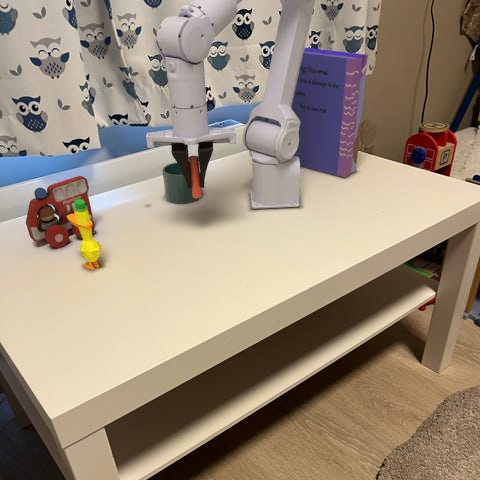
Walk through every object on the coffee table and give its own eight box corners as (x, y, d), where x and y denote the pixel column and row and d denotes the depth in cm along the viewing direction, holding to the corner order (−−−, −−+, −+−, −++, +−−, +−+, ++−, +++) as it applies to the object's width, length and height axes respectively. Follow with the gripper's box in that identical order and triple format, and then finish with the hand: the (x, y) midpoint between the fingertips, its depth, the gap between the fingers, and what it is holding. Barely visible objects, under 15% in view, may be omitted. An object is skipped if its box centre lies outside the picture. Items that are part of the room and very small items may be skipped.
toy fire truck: (26, 241, 96) (9, 187, 90) (87, 220, 103) (75, 168, 96) (41, 255, 92) (24, 199, 86) (104, 232, 98) (93, 179, 92)
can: (201, 188, 113) (199, 161, 109) (200, 202, 107) (198, 174, 104) (167, 189, 113) (164, 162, 109) (164, 204, 107) (160, 176, 104)
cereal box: (355, 171, 118) (368, 53, 103) (344, 178, 115) (355, 58, 100) (292, 155, 127) (296, 45, 112) (281, 161, 124) (282, 49, 110)
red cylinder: (201, 194, 92) (198, 155, 88) (201, 198, 91) (198, 158, 87) (192, 194, 92) (189, 155, 88) (192, 198, 91) (188, 159, 87)
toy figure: (71, 263, 89) (54, 198, 82) (88, 255, 91) (73, 190, 84) (95, 277, 86) (79, 209, 78) (112, 268, 88) (98, 201, 81)
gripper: (139, 113, 79) (151, 197, 87) (235, 109, 79) (238, 193, 88) (144, 100, 85) (155, 180, 93) (234, 96, 85) (237, 177, 93)
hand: (196, 185), depth 91 cm, fingers closed on red cylinder, 1 cm apart
